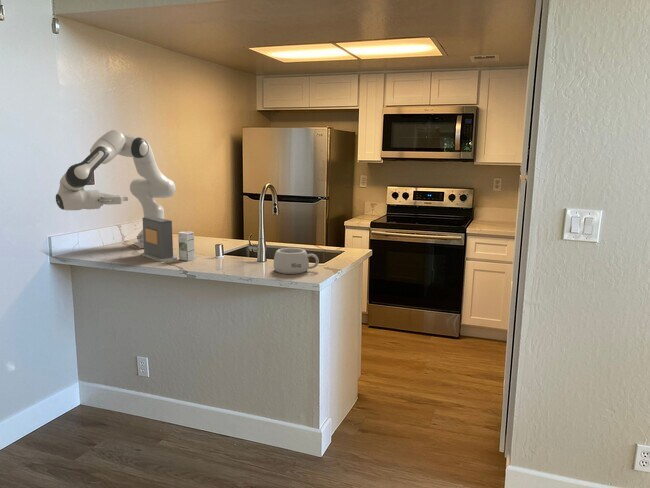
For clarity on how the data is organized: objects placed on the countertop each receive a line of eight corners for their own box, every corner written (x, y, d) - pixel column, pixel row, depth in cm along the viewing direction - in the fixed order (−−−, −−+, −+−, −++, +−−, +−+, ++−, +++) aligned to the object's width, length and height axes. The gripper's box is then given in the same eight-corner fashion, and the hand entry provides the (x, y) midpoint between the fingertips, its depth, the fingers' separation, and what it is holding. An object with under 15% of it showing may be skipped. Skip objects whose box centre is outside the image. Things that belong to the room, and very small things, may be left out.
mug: (271, 275, 241) (271, 253, 239) (275, 266, 257) (275, 246, 255) (318, 275, 241) (318, 254, 239) (318, 267, 257) (319, 247, 256)
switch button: (146, 241, 275) (145, 228, 274) (151, 240, 277) (150, 227, 276) (156, 244, 266) (156, 230, 265) (162, 243, 269) (161, 230, 267)
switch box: (140, 255, 279) (138, 217, 276) (156, 252, 285) (154, 216, 282) (160, 261, 264) (158, 222, 260) (176, 259, 270) (175, 220, 266)
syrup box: (195, 259, 271) (194, 231, 268) (187, 261, 266) (186, 233, 263) (186, 258, 273) (185, 230, 271) (178, 260, 268) (177, 232, 266)
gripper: (102, 194, 240) (132, 193, 249) (85, 191, 254) (114, 190, 263) (103, 208, 241) (132, 206, 250) (86, 204, 255) (114, 202, 265)
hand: (123, 198), depth 257 cm, fingers open, 8 cm apart
